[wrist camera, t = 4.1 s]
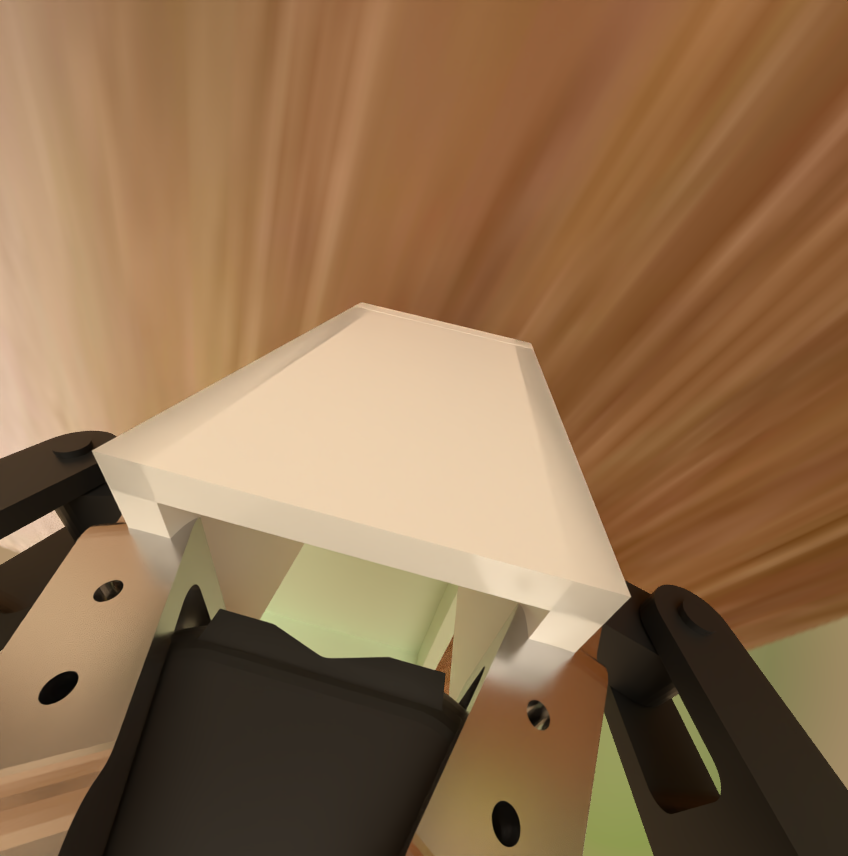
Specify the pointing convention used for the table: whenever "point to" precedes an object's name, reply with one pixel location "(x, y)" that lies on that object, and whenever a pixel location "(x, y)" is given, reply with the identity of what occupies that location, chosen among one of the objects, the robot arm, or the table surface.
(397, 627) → the tray
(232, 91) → the table surface
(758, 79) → the table surface
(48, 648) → the robot arm
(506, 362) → the mini side table
